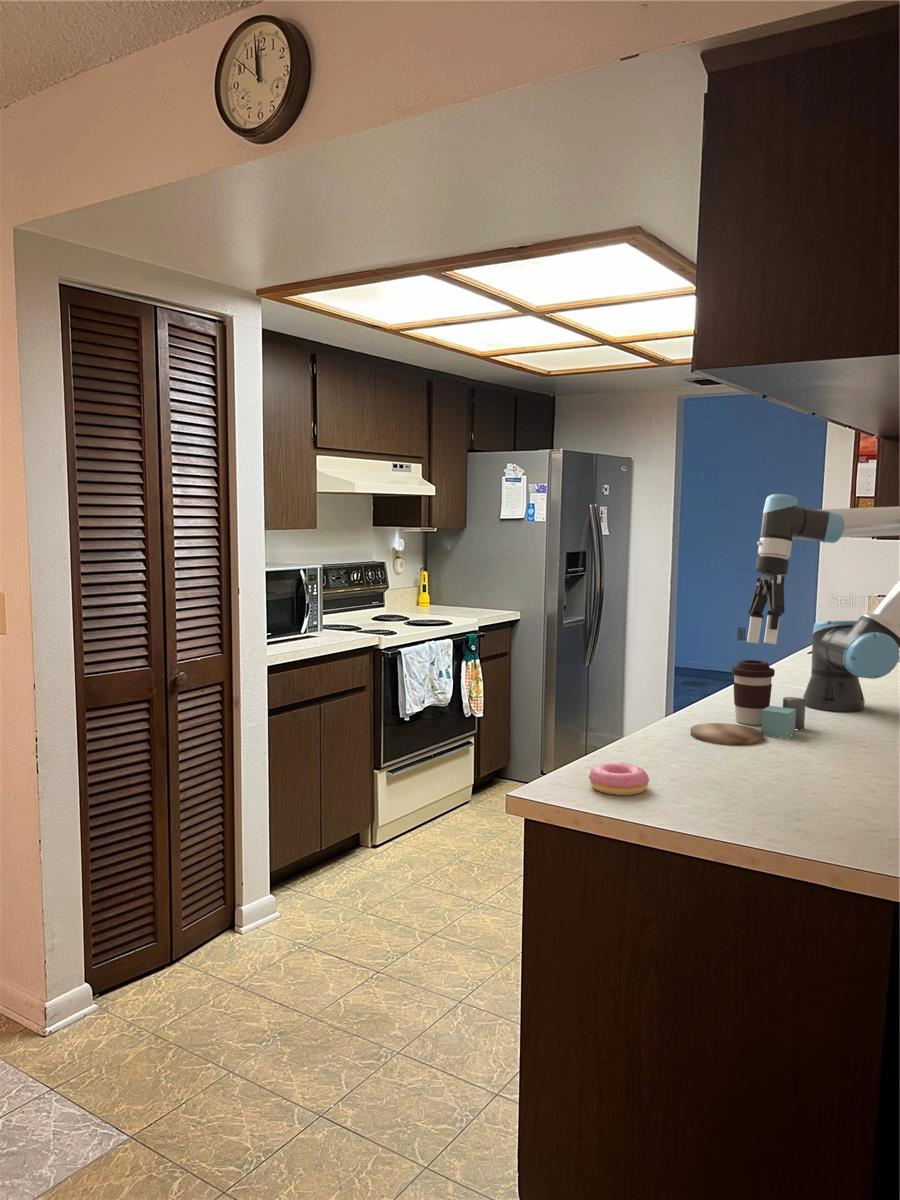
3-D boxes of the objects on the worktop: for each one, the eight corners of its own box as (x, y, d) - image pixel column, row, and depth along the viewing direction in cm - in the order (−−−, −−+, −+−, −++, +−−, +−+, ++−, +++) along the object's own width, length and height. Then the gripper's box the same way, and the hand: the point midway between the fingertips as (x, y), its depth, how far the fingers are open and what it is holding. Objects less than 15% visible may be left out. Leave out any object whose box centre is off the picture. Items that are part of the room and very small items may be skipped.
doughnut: (660, 789, 167) (661, 767, 167) (625, 802, 159) (625, 779, 159) (612, 777, 175) (612, 756, 175) (576, 788, 167) (576, 766, 167)
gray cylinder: (796, 725, 219) (797, 696, 219) (808, 729, 215) (809, 700, 214) (777, 726, 218) (778, 697, 218) (789, 730, 214) (791, 701, 213)
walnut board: (739, 726, 217) (739, 721, 217) (777, 743, 202) (777, 737, 202) (678, 729, 214) (678, 724, 214) (712, 746, 198) (712, 741, 198)
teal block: (768, 730, 214) (769, 705, 213) (794, 734, 210) (795, 709, 210) (760, 735, 209) (761, 710, 209) (787, 739, 206) (788, 713, 205)
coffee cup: (726, 724, 220) (728, 663, 219) (734, 716, 229) (736, 657, 228) (769, 728, 216) (771, 666, 214) (775, 720, 224) (777, 660, 223)
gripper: (743, 559, 235) (731, 640, 234) (774, 550, 210) (761, 641, 209) (772, 563, 235) (760, 644, 234) (806, 555, 210) (794, 646, 209)
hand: (761, 643), depth 222 cm, fingers open, 13 cm apart
